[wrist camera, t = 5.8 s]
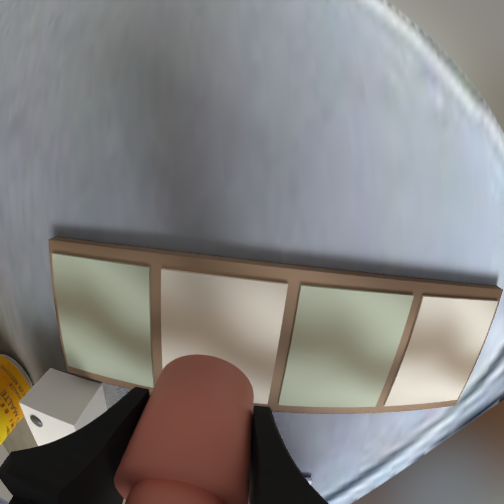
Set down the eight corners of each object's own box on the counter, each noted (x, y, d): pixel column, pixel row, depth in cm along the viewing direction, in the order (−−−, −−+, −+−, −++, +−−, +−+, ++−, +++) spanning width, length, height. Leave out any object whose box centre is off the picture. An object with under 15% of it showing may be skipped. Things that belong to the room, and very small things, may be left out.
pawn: (248, 430, 14) (239, 579, 6) (161, 417, 14) (111, 554, 6) (259, 361, 13) (253, 544, 5) (156, 347, 13) (73, 503, 5)
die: (111, 426, 22) (89, 468, 17) (63, 410, 22) (37, 446, 17) (102, 383, 20) (73, 426, 15) (50, 367, 20) (18, 403, 16)
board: (451, 399, 20) (456, 406, 19) (72, 365, 20) (66, 373, 19) (496, 285, 17) (504, 290, 16) (55, 236, 17) (47, 240, 17)
